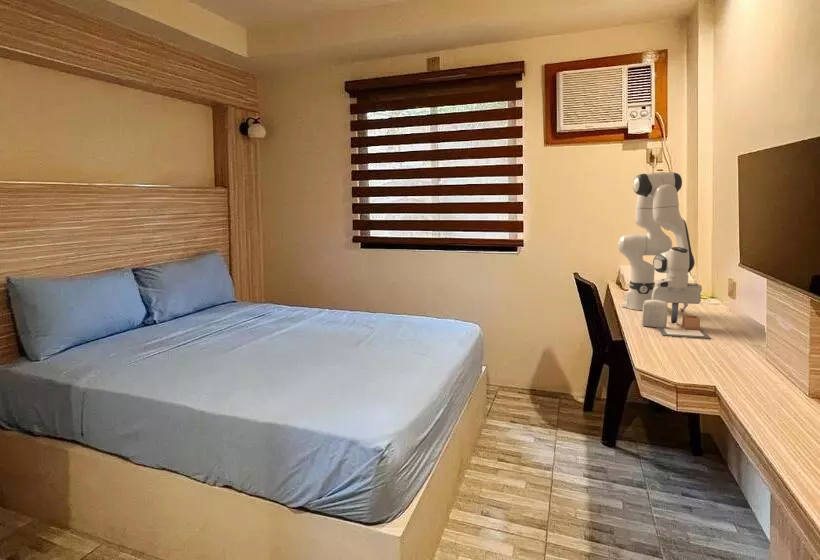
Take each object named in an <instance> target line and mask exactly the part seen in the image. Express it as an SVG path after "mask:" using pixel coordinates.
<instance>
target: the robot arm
mask: <svg viewBox="0 0 820 560" xmlns="http://www.w3.org/2000/svg"><path fill="white" fill-rule="evenodd" d="M633 179H634V180H633V182H632V183H633V184H632V188H633V189H632V190H633V192H634V193H635V194H636V195H637V198H636V202H635V213H634V214H635V216H634V222H635V224H636V225H637V226H638V227H640V228H641V229H644V230H646V233H641V234H640V233H638V234H637V233H631V234H625V235H622V236H620V238H619V239H618V242H617V250H618V251H619V253H621V254H622V255H623V256H624V257H626V259H627V261H628V262H629V264H630V281H629V289H628V290H627V291H626V292H625V293H624V296H623V298H624V300H623V301H622V304H621V308H626V309H630V310H636V311H643V304H644V301H646V300H660V301H664V302H666V303H667V304H669V303H671V304H672V303H679V304H683V306H682V308H680V309H679V312H680V313H682V314H684V313H685V311H686V309H687V307H688V306H689V305H688V304H691V305H692V304H693V305H694V304H695V305H699V304H701V301H702V298H701V297H702V296H701V295H702V294H701V293H702V291H703V287H702V285H701V284H699V283H690V282H689V273H690V272H691V271H692V270H693V268H695V258H694V255H693V253H692V248H691V247H692V246H691V242H690V236H689V230H688V226H687V222H686V220H685V219H683V217H682V215H681V213H680V207H679V205H680V204H679V195H678V192H679V191H680V190H681V189H682V187H683V179H682V176H681V174H679V173H678V172H673V171H672V172H671V171H670V172H667V171H666V172H665V171H657V172H651V173H640V174H637V175H636V176H635V178H633ZM662 228H664V229H667V230H669V231H671V232H672V233H673V234H674V236H675V240H676V245H677V246H673V242H672V239H671V237H670V236H669V235H667V234H666V233H665V232H664V231H663V229H662ZM644 256H654V258H653V260H652V264H651V263H650V262H648V261H645V260H644ZM655 271H656V272H657V273H661V274H666V277H664V278H661V279H657V280H656V281H655V274H656V273H655ZM668 313H670V307H668Z"/></svg>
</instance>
